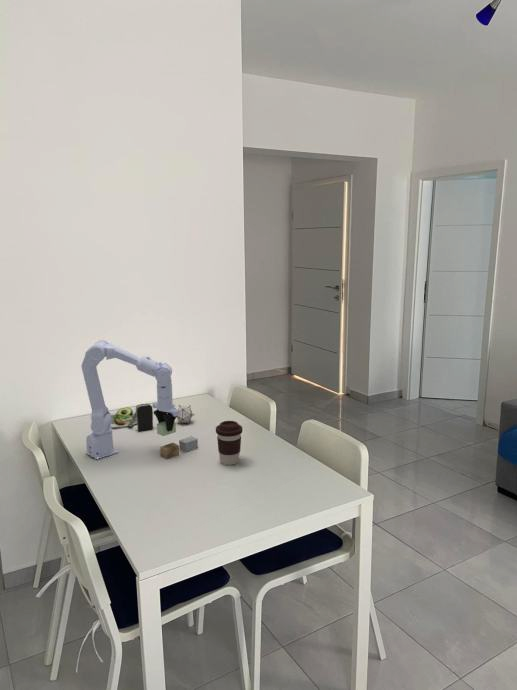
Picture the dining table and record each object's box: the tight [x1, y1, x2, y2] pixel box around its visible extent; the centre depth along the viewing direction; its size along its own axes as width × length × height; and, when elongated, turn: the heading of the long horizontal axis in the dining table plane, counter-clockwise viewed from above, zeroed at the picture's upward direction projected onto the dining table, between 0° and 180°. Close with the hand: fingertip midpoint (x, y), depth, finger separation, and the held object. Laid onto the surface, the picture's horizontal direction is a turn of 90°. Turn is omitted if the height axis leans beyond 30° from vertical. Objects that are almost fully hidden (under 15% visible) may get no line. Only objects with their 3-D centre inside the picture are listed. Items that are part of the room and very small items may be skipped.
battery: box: [135, 403, 154, 432], centre depth 229 cm, size 7×4×11 cm, turn 115°
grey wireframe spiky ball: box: [176, 404, 195, 425], centre depth 237 cm, size 9×8×10 cm
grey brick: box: [178, 435, 199, 453], centre depth 210 cm, size 6×4×4 cm, turn 135°
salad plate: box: [110, 406, 137, 429], centre depth 238 cm, size 19×18×5 cm
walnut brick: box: [159, 442, 180, 460], centre depth 203 cm, size 6×4×4 cm, turn 135°
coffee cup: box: [215, 420, 243, 466], centre depth 197 cm, size 10×10×15 cm
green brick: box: [156, 421, 177, 437], centre depth 205 cm, size 6×4×4 cm, turn 135°
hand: (166, 429), depth 205 cm, fingers closed on green brick, 4 cm apart
